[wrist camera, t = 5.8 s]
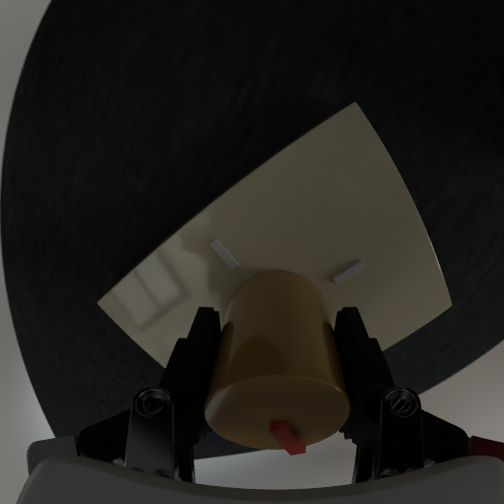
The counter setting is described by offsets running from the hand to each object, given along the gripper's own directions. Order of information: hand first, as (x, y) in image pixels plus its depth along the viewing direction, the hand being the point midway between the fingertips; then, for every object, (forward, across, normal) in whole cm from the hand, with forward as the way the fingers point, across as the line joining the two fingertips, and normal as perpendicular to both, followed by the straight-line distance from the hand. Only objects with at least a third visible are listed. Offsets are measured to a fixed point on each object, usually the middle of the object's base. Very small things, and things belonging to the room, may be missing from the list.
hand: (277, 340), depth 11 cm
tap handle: (+2, 0, 0) cm, 2 cm away
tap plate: (+4, 0, 0) cm, 4 cm away
